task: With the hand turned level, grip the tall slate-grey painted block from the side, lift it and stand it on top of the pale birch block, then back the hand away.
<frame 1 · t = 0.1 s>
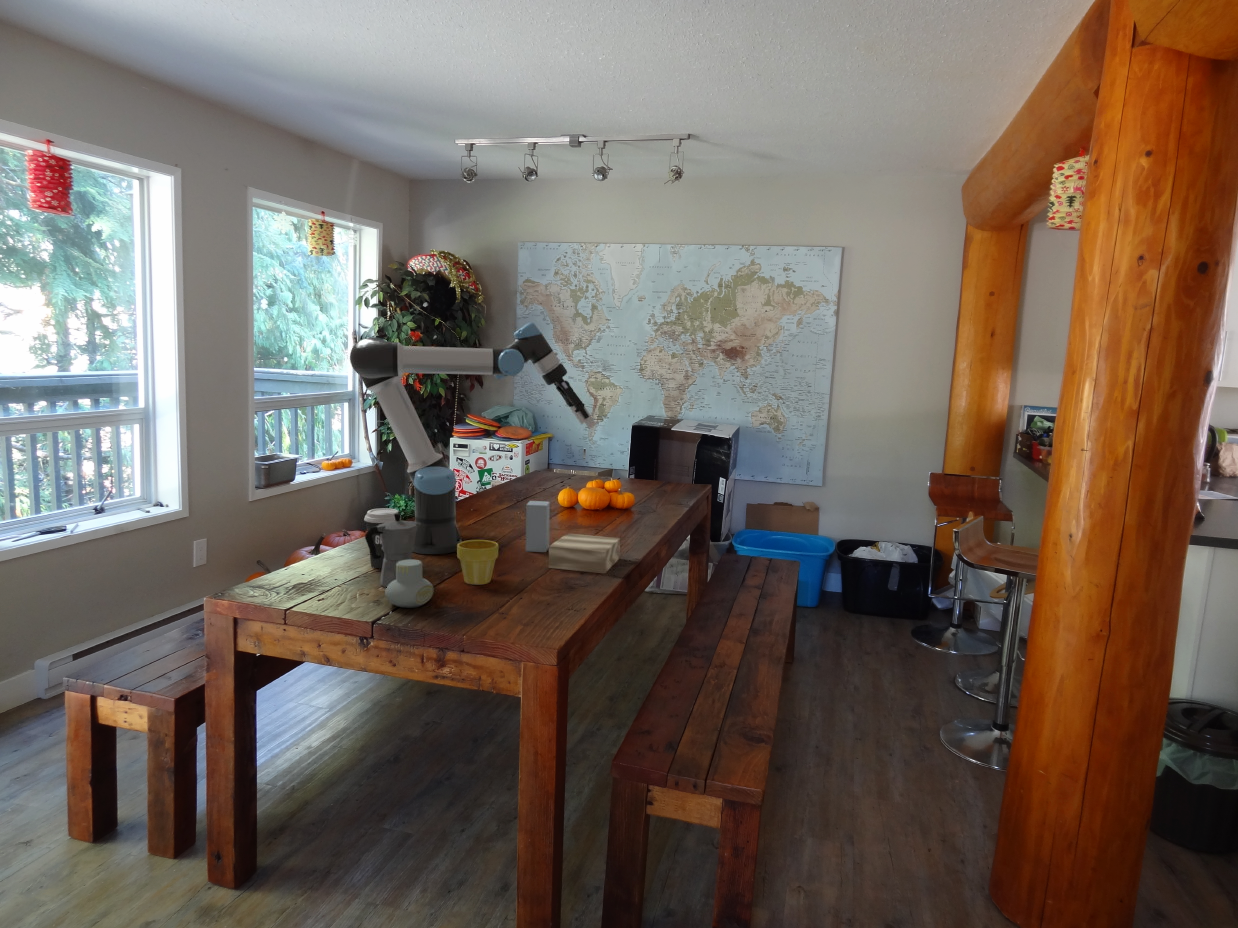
hand: (588, 424, 251), 36 cm above the table, tool tilted 35°, fingers open, 13 cm apart
birch block: (584, 562, 222), on the table
air freshener: (409, 604, 184), on the table
slate block: (537, 549, 235), on the table
plant pot: (477, 581, 202), on the table
coffee cup: (383, 566, 214), on the table
coffeepot: (394, 584, 198), on the table
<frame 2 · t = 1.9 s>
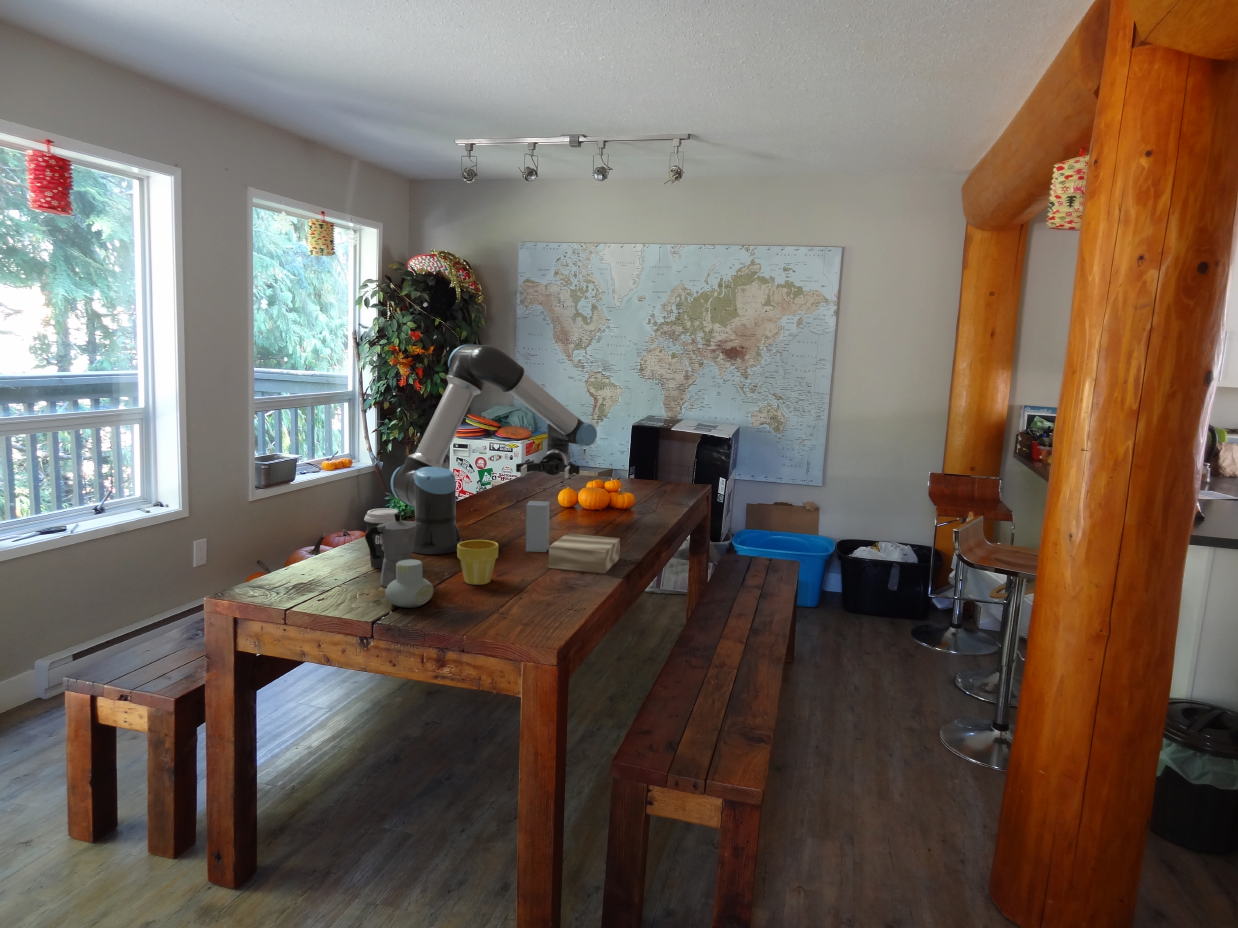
hand: (543, 473, 242), 21 cm above the table, tool horizontal, fingers open, 13 cm apart
nothing on the table moved.
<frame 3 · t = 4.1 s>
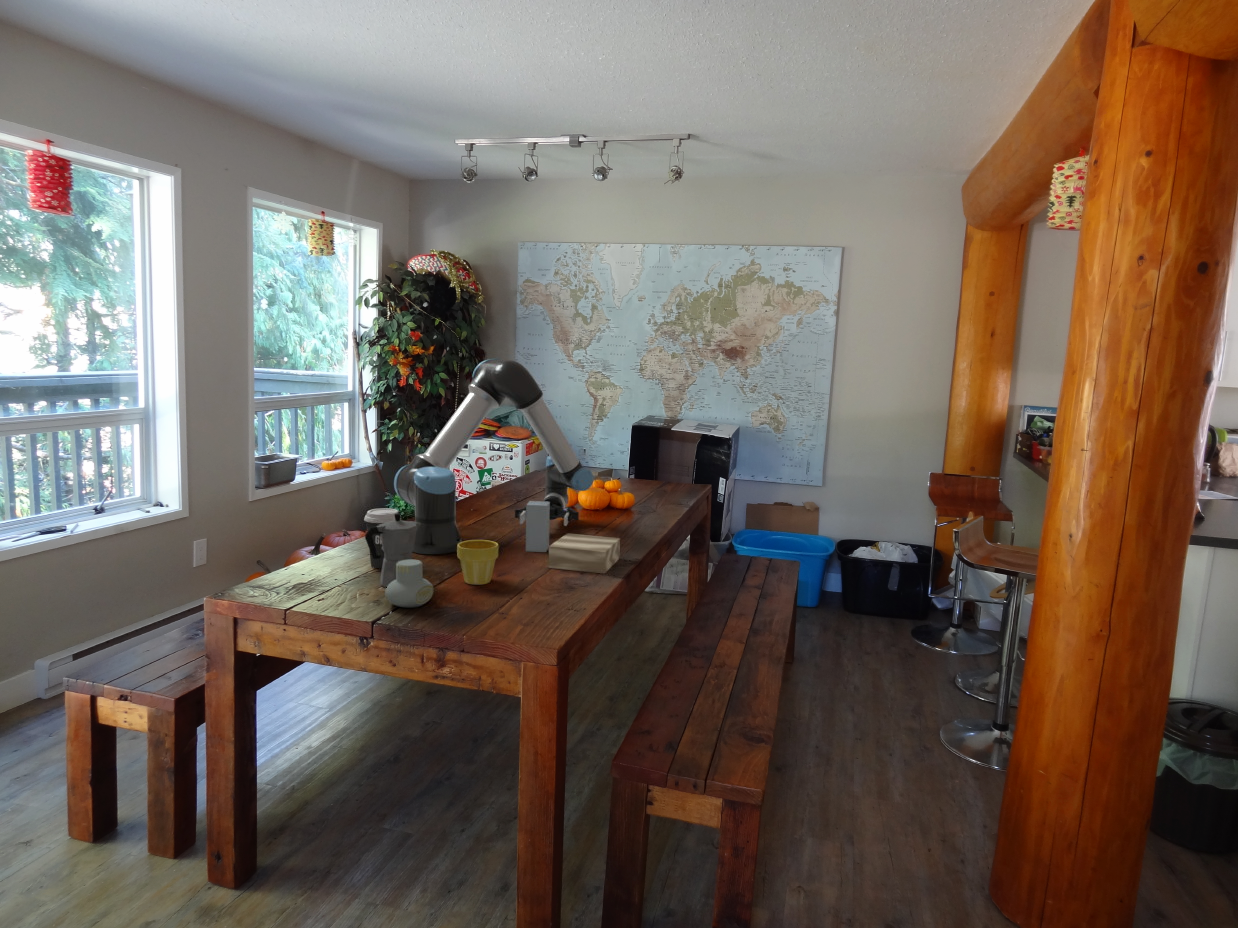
hand: (542, 520, 240), 7 cm above the table, tool horizontal, fingers open, 13 cm apart
nothing on the table moved.
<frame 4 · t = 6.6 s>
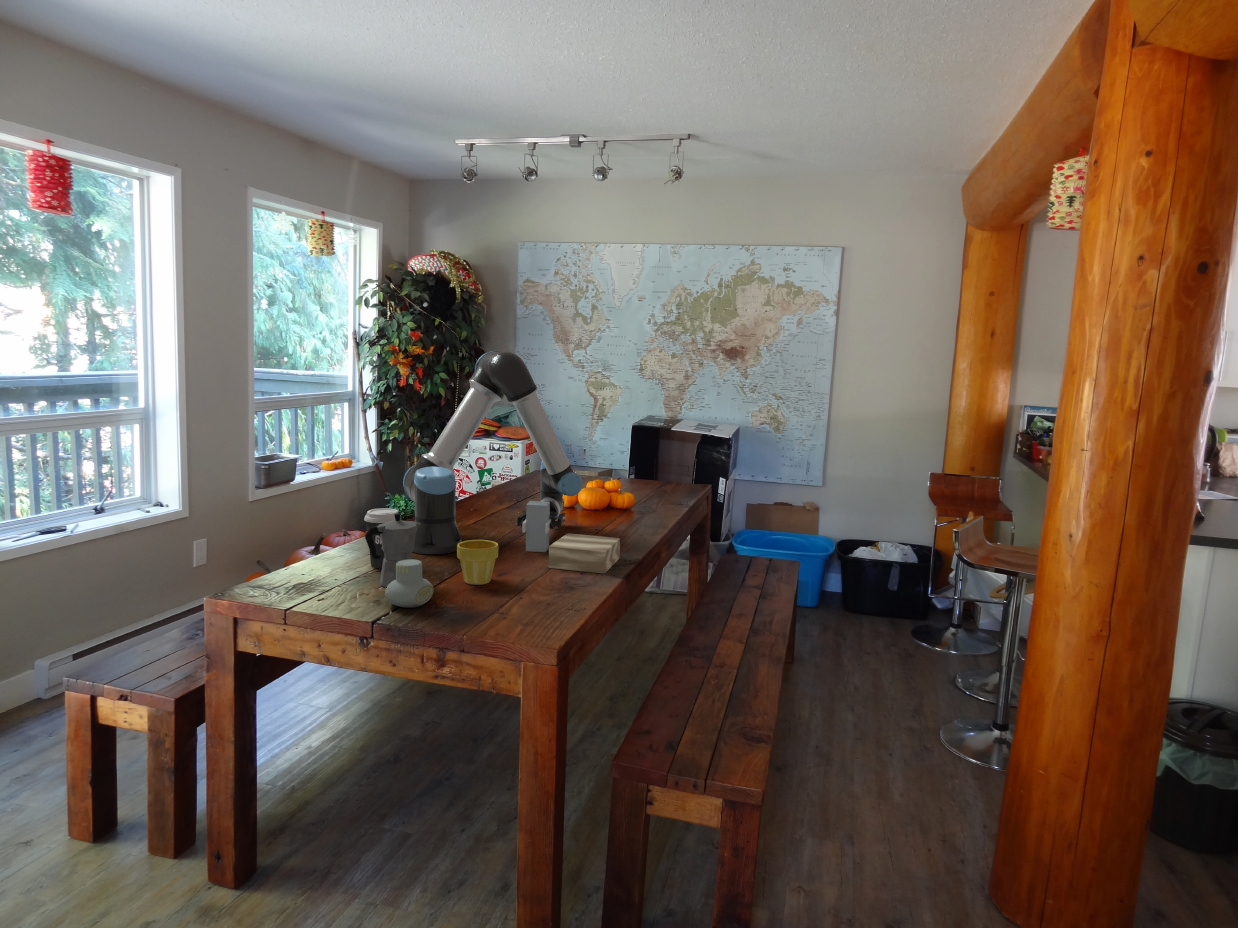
hand: (535, 528, 229), 8 cm above the table, tool horizontal, fingers closed on slate block, 6 cm apart
slate block: (537, 549, 235), on the table, touching gripper
everything else where it was.
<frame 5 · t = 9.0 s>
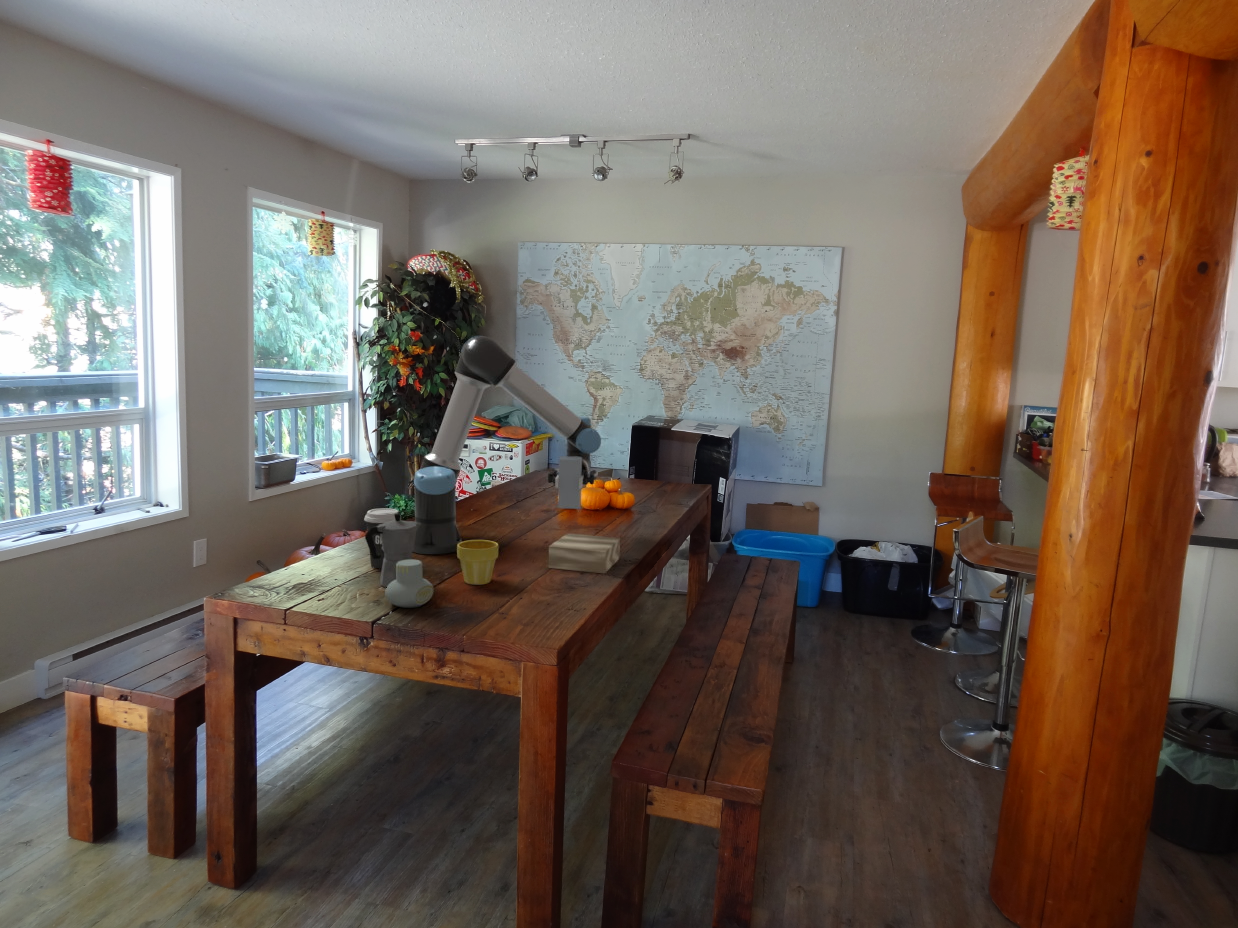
hand: (568, 483, 221), 22 cm above the table, tool horizontal, fingers closed on slate block, 6 cm apart
slate block: (569, 506, 227), point 15 cm above the table, touching gripper
everything else where it was.
when the fingers open (14 cm above the table, at t = 11.7 s): slate block stays where it is, resting on birch block.
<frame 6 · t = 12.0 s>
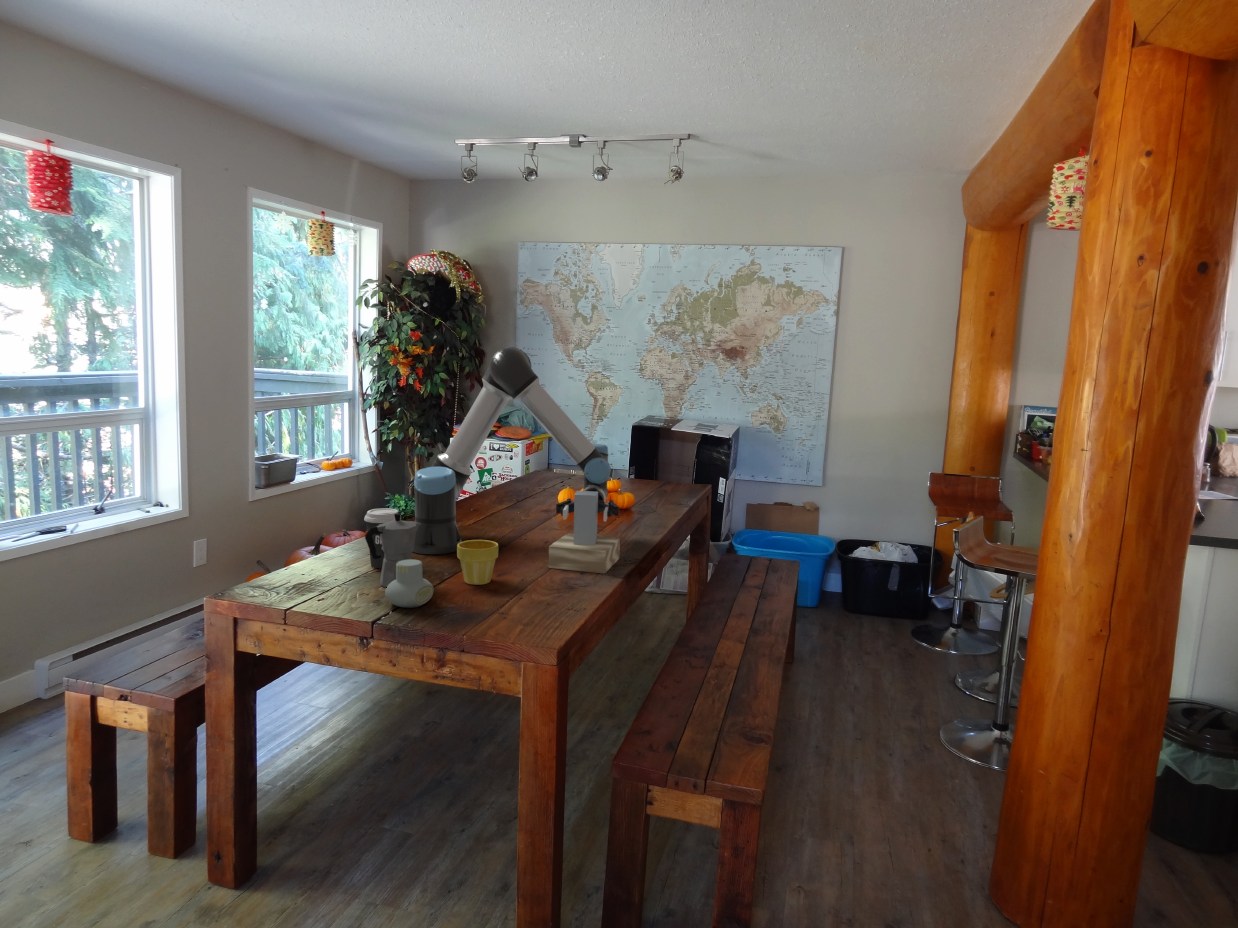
hand: (584, 515, 216), 14 cm above the table, tool horizontal, fingers open, 10 cm apart
slate block: (585, 542, 221), point 6 cm above the table, touching birch block
everything else where it was.
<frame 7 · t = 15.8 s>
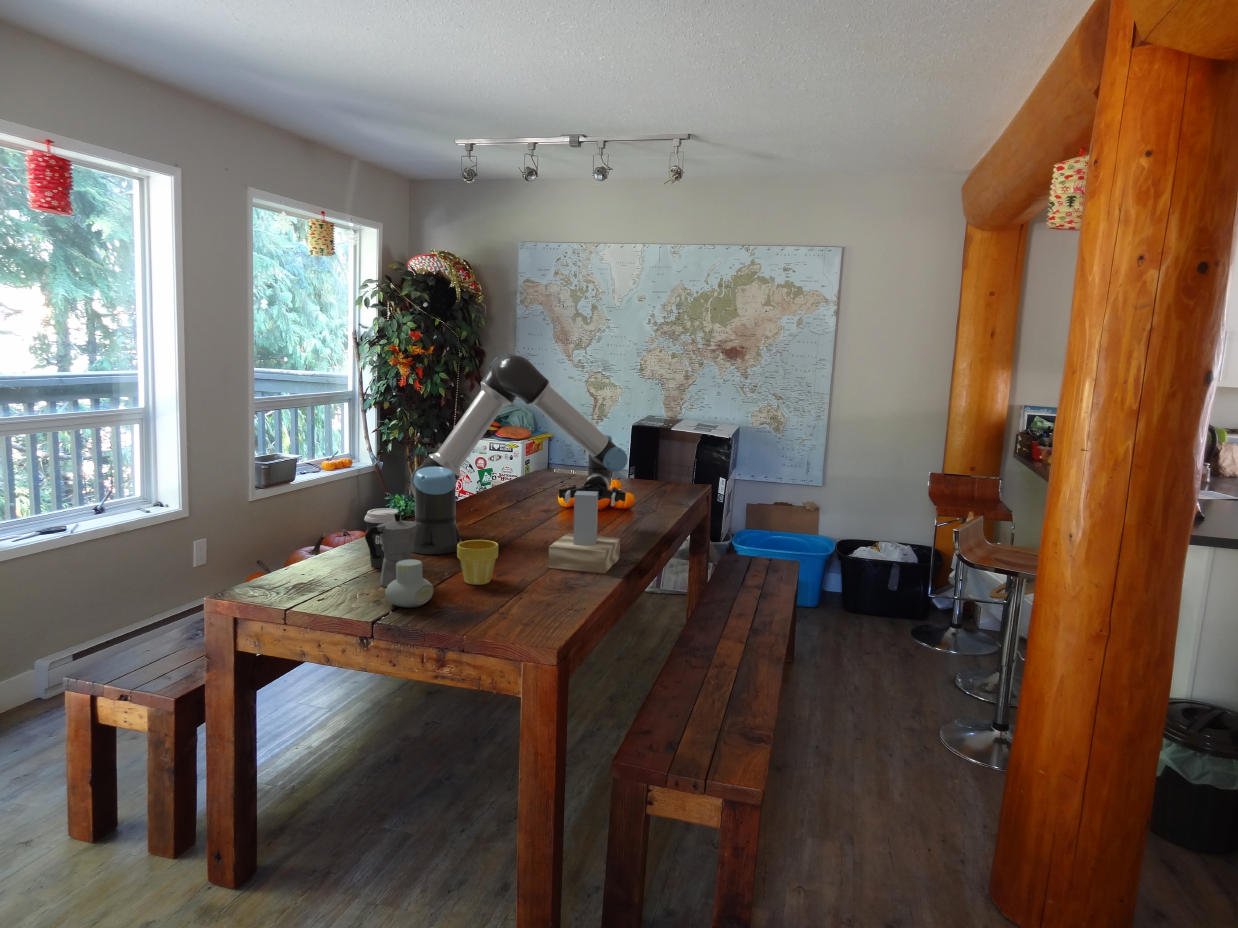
hand: (589, 500, 230), 16 cm above the table, tool horizontal, fingers open, 13 cm apart
nothing on the table moved.
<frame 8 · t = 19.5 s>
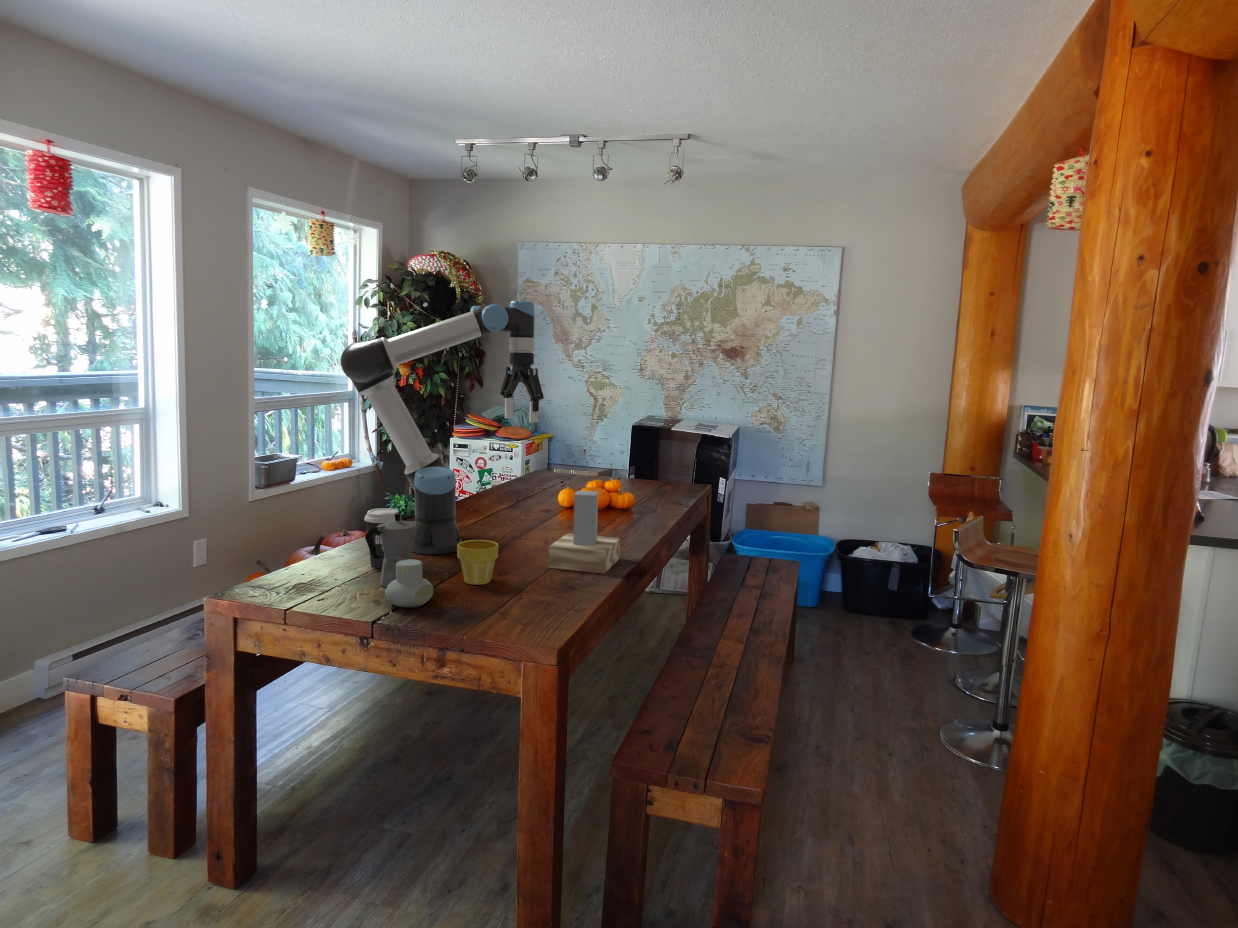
hand: (521, 420, 247), 37 cm above the table, tool pointing down, fingers open, 13 cm apart
nothing on the table moved.
at the end: slate block inside the target area on the birch block (0.1 cm from its centre), point 6.0 cm above the birch block's base; slate block tilted 0°; the gripper is holding nothing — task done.
